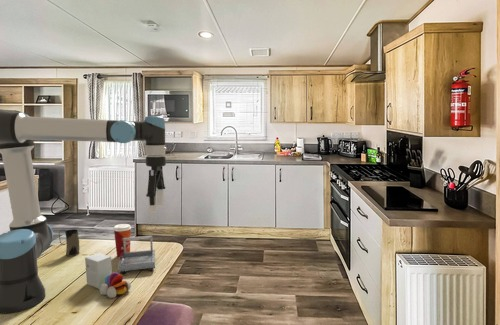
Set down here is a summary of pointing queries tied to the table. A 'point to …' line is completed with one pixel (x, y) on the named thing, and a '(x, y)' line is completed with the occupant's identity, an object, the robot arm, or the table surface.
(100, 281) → the small box
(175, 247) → the table surface
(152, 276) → the table surface
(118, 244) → the paper cup
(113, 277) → the rainbow segmented toy
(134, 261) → the grey storage bin
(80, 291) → the table surface
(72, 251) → the mug
